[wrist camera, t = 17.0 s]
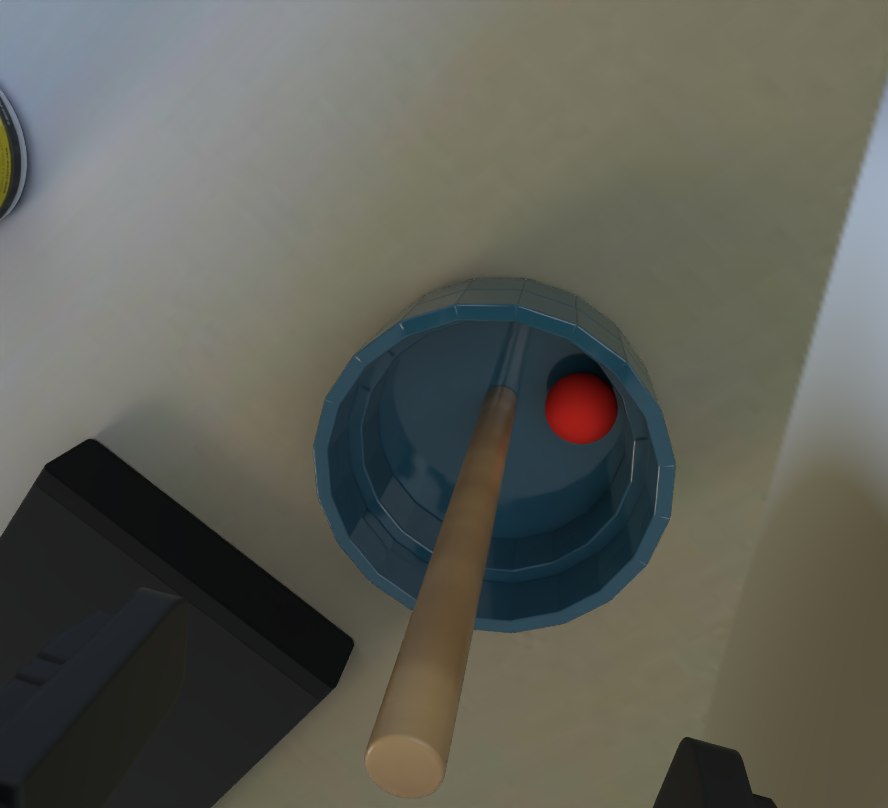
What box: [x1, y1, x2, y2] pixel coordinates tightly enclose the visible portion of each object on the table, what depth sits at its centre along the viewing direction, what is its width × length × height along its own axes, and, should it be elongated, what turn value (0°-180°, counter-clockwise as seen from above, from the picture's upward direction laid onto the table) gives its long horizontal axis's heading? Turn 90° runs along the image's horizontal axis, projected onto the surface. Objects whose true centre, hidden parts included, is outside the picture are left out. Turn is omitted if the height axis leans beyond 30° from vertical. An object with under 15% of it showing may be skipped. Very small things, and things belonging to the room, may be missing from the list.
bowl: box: [313, 278, 676, 633], centre depth 23 cm, size 11×11×5 cm
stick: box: [365, 386, 518, 798], centre depth 17 cm, size 1×1×16 cm
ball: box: [545, 373, 618, 444], centre depth 23 cm, size 2×2×2 cm
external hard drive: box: [0, 439, 354, 808], centre depth 32 cm, size 14×23×3 cm, turn 141°
